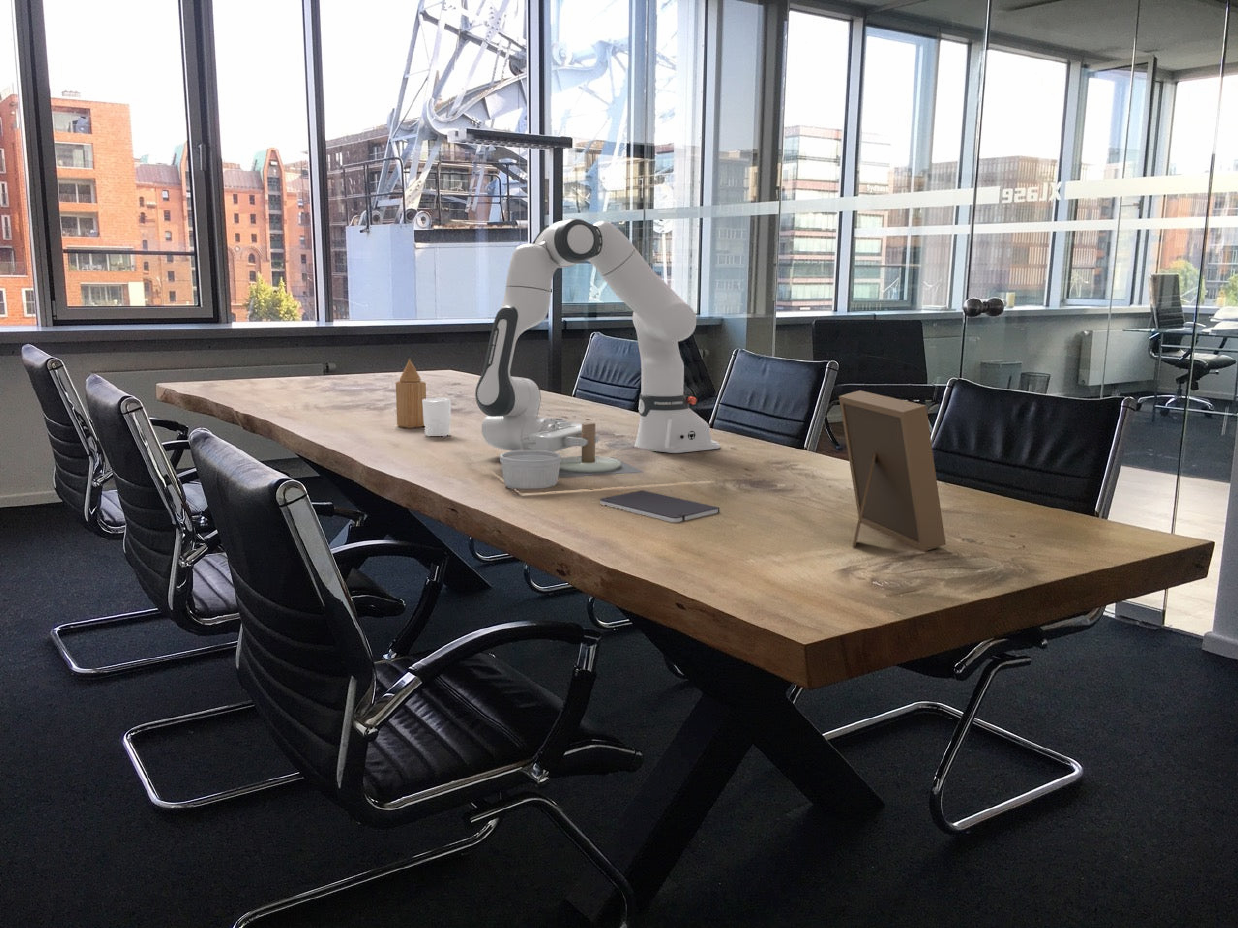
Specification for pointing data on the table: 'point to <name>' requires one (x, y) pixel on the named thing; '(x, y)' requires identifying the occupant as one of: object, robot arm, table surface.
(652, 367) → the robot arm
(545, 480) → the ramekin
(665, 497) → the notebook
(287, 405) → the table surface
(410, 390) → the decorative item
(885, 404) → the photo frame
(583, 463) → the lid
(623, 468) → the mat
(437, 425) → the white cup
